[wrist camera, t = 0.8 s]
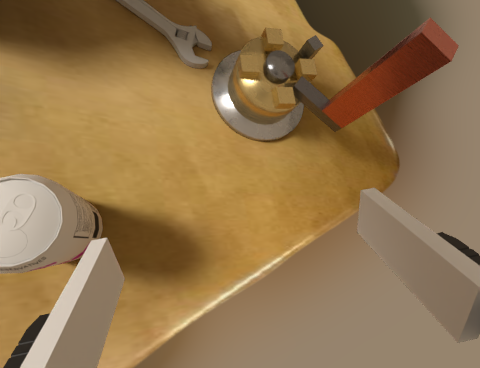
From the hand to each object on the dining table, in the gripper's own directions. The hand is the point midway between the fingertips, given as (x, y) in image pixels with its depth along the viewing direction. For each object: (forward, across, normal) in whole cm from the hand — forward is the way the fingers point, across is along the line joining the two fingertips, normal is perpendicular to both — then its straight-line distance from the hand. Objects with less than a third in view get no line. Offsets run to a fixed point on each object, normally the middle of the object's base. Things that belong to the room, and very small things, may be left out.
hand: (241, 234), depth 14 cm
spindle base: (+37, +9, +1) cm, 38 cm away
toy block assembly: (+35, +12, -1) cm, 37 cm away
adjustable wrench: (+43, -7, +15) cm, 47 cm away
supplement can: (+21, -21, -10) cm, 31 cm away
